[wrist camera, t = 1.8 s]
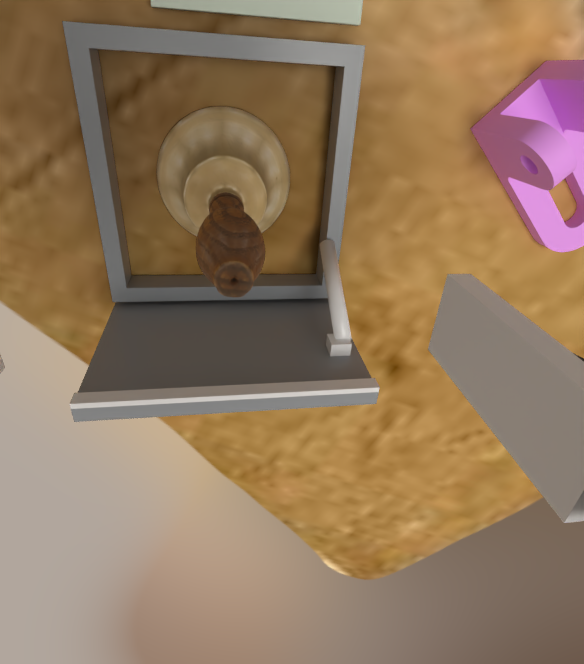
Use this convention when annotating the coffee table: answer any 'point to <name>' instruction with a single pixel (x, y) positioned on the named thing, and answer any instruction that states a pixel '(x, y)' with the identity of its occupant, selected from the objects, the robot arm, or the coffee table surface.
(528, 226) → the bracket
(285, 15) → the pad
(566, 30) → the coffee table surface
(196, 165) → the hand bell
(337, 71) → the hatch
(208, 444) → the coffee table surface
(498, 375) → the robot arm
